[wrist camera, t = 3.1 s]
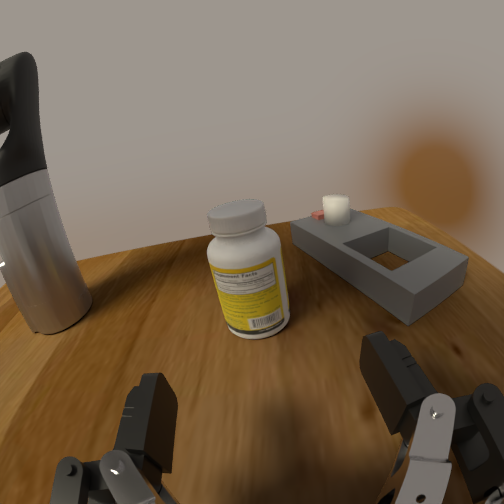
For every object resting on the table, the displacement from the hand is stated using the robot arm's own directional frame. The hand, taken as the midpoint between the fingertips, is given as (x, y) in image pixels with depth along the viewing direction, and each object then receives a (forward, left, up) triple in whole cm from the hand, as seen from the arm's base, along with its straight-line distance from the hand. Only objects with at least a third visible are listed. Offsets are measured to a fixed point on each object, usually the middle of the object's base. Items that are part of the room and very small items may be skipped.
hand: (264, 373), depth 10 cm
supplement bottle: (+3, +11, -6) cm, 13 cm away
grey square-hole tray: (+17, +13, -6) cm, 22 cm away
